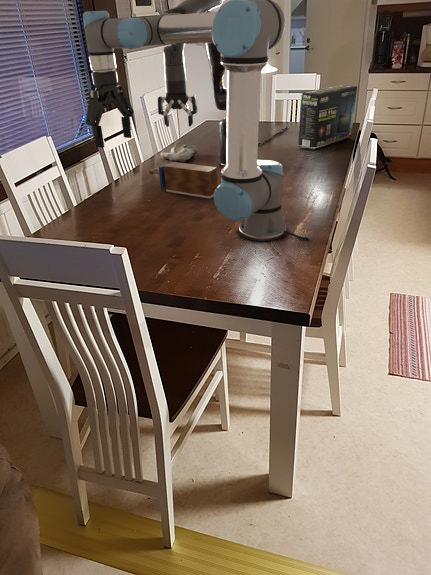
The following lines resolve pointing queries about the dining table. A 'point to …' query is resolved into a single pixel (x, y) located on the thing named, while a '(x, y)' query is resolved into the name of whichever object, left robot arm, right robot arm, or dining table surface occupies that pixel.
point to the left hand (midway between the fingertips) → (178, 126)
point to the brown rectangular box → (191, 179)
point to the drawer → (162, 175)
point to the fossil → (179, 152)
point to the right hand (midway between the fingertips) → (114, 142)
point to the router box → (326, 115)
